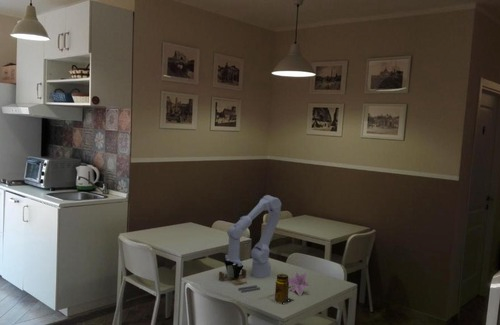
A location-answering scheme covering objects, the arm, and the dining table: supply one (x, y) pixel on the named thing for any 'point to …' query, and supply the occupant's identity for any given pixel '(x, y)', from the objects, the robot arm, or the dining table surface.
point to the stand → (249, 288)
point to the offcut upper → (239, 282)
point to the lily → (298, 282)
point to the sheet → (230, 271)
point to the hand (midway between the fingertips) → (232, 276)
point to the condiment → (282, 289)
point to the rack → (241, 276)
